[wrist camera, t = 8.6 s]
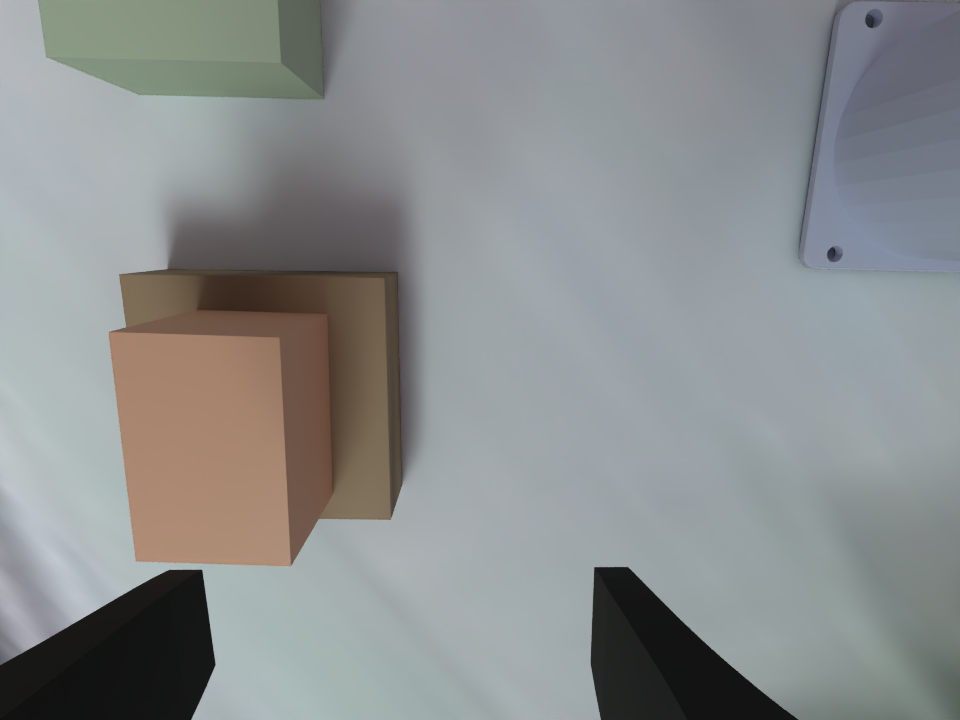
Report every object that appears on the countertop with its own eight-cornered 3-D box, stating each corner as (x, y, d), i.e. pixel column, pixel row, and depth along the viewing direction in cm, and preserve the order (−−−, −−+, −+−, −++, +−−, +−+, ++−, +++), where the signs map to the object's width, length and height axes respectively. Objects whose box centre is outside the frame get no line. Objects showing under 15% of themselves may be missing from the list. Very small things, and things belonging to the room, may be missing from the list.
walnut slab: (399, 271, 19) (384, 277, 16) (403, 480, 21) (390, 519, 18) (174, 268, 19) (119, 274, 16) (197, 477, 21) (151, 516, 18)
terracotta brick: (332, 494, 18) (290, 566, 14) (211, 491, 18) (136, 561, 14) (327, 314, 17) (279, 337, 13) (196, 309, 17) (108, 331, 13)
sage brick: (319, -40, 17) (271, -121, 13) (325, 100, 18) (280, 62, 14) (127, -44, 17) (20, -127, 13) (141, 96, 18) (46, 57, 14)
